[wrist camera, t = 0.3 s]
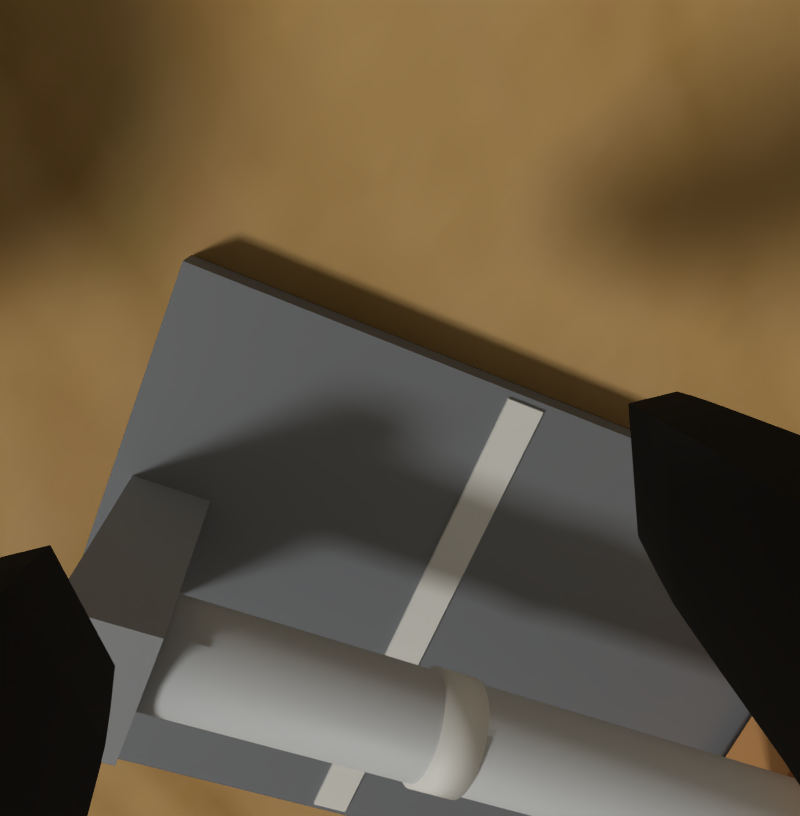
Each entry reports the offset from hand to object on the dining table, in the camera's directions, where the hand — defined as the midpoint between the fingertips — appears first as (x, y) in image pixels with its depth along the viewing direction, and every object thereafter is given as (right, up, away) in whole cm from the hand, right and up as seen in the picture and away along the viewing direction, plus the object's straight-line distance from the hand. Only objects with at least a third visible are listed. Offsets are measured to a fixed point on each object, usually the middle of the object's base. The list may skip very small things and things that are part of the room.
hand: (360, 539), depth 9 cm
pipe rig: (+7, -6, +14) cm, 17 cm away
